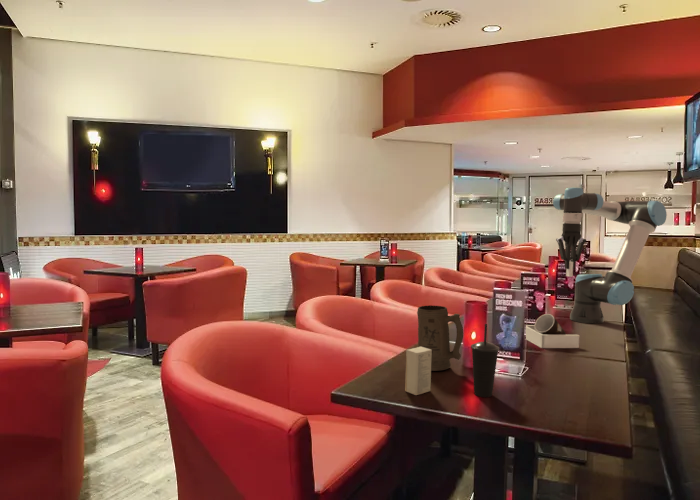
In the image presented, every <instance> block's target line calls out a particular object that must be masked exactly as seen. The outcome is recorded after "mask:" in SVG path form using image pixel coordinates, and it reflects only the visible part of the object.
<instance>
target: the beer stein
mask: <svg viewBox="0 0 700 500" xmlns="http://www.w3.org/2000/svg"><path fill="white" fill-rule="evenodd" d="M416 314H417V324H418V328H417V336H418V337H417V338H418V341H417V343H418V344H417V347H420V346H421V347H425V348H428V349H431V350H432V355H431V372H432V371H433V372H434V371H435V372H436V371H437V372H438V371H444V370H445V371H446V370H448V369H449V368H451V361H450V360H451V359H456V360H458V361H459V360H461V356H462V355H461V354H460V353H461V352H460V348H461V345H462V343H463V340H464V328H463V324H462V321H461V314H460V313H454V314H453V315H452V314H451V315H449V312H448V308H447V307H446V306H443V305H442V306H441V305H432V304H431V305H421V306H418V307H417V311H416ZM450 322H451V323H454V325H455V328H456V338H455V341H454V342H455V343H454V345H453V350H451V344H450V343H451V342H450V341H451V340H450V327H449V323H450Z"/></svg>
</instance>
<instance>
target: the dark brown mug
mask: <svg viewBox="0 0 700 500" xmlns="http://www.w3.org/2000/svg"><path fill="white" fill-rule="evenodd" d="M534 325H535V330H536V331H538V332H539V333H541V334H543V335H567V334H566V331H565V330H564V328H563V327H562V326H561V324H560V323H559V322H558V321H557V319H556V317H554V315H553V314H551V313H545V314H542V315H540V316H539V317H538V318H537V319H536V320H535V323H534Z"/></svg>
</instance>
